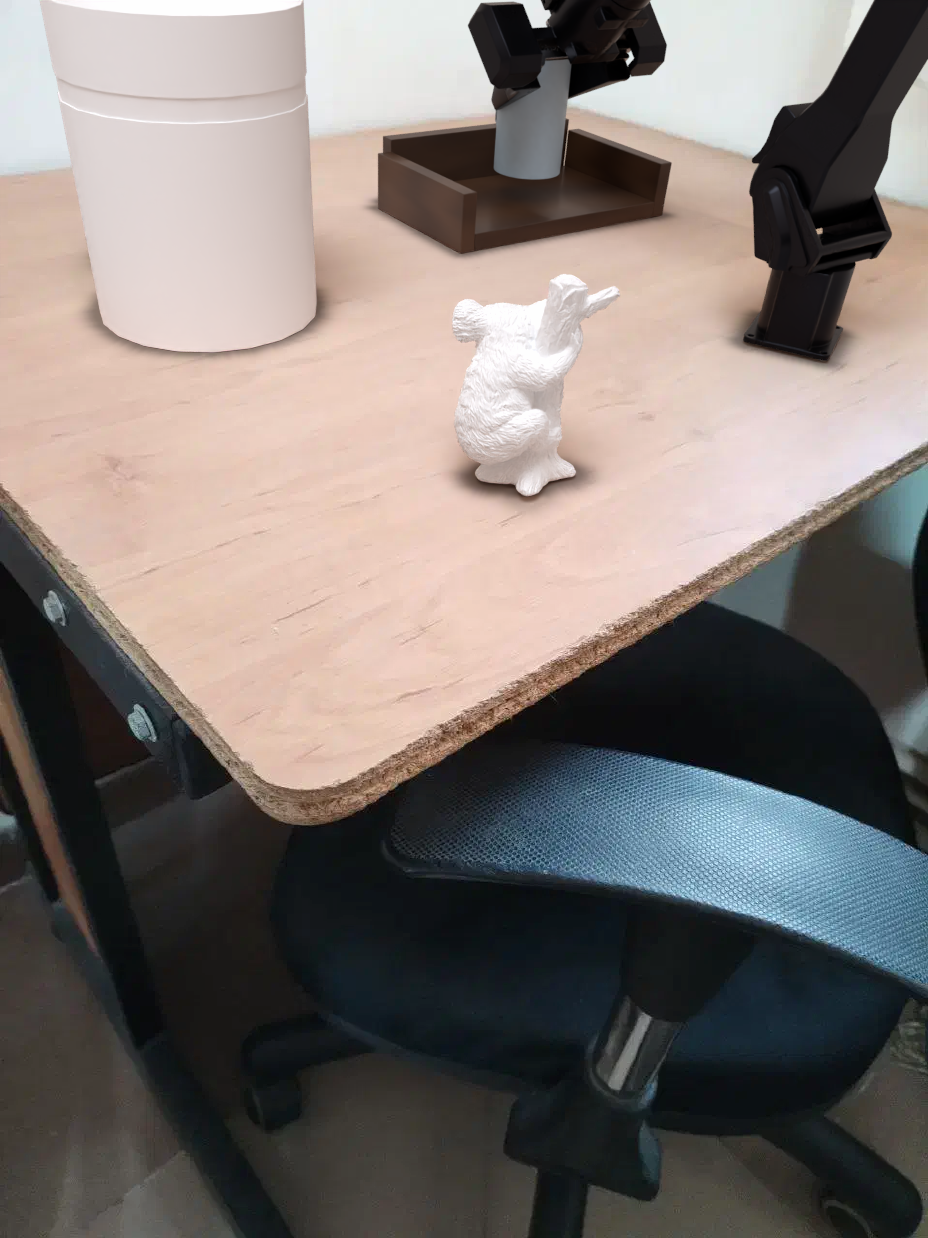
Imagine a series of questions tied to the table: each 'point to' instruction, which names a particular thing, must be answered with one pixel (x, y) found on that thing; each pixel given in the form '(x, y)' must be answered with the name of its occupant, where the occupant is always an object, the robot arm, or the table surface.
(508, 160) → the pale blue cylinder
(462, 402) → the koala figurine
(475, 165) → the tray
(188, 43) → the canister
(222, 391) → the table surface
